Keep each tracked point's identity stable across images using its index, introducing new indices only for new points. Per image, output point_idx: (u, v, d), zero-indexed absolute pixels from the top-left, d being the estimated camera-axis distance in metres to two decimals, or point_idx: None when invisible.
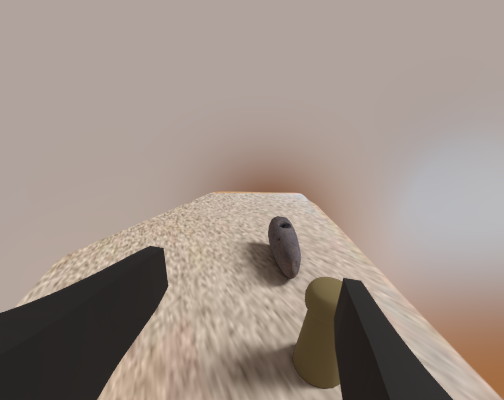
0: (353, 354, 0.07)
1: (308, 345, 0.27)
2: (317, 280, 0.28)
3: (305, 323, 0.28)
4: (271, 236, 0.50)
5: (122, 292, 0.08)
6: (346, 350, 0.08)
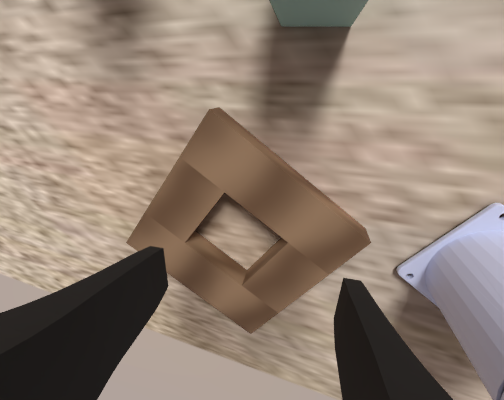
0: (353, 354, 0.07)
1: None
2: None
3: None
4: None
5: (122, 292, 0.08)
6: (346, 350, 0.08)
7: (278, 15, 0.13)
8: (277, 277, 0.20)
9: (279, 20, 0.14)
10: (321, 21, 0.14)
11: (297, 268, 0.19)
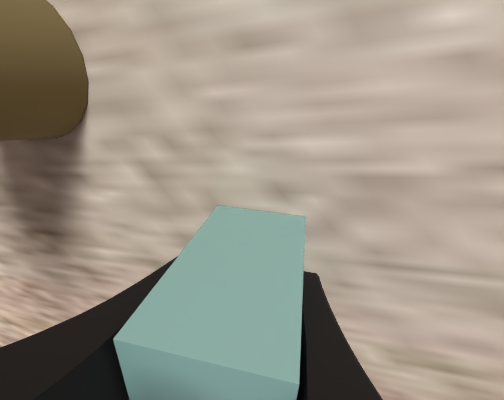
0: None
1: None
2: None
3: None
4: None
5: None
6: None
7: None
8: None
9: None
10: None
11: None
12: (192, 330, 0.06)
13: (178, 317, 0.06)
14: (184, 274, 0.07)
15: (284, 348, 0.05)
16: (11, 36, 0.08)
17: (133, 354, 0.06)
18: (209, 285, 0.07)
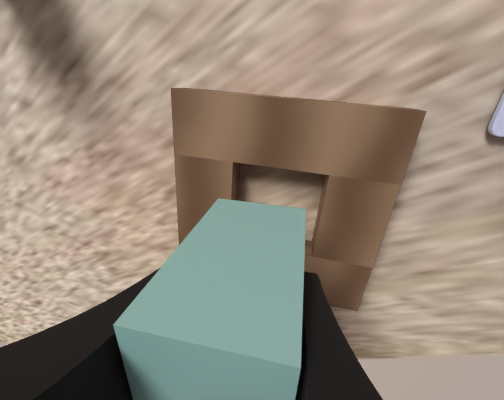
0: None
1: None
2: None
3: None
4: None
5: None
6: None
7: None
8: (344, 224, 0.16)
9: None
10: None
11: (358, 199, 0.15)
12: (193, 316, 0.06)
13: (179, 304, 0.06)
14: (184, 263, 0.07)
15: (286, 333, 0.05)
16: None
17: (133, 340, 0.06)
18: (209, 273, 0.07)
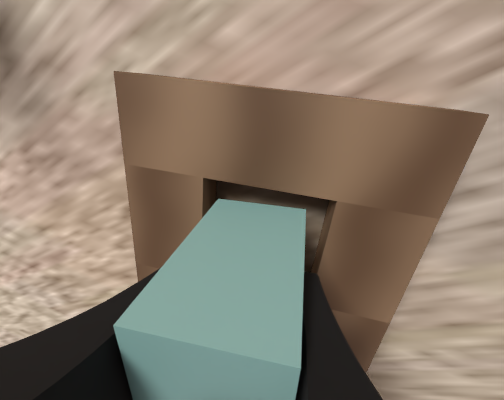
0: None
1: None
2: None
3: None
4: None
5: None
6: None
7: None
8: (354, 267, 0.12)
9: None
10: None
11: (377, 235, 0.11)
12: (193, 316, 0.06)
13: (179, 305, 0.06)
14: (184, 264, 0.07)
15: (286, 334, 0.05)
16: None
17: (133, 340, 0.06)
18: (210, 274, 0.07)
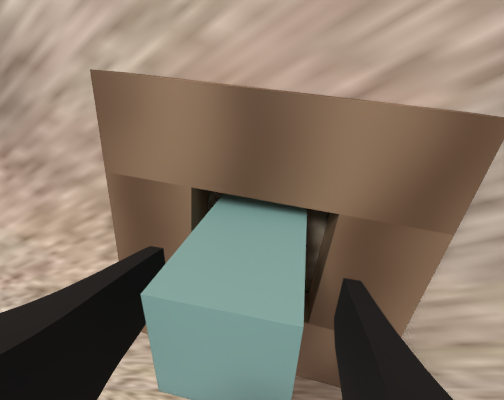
0: (353, 354, 0.07)
1: None
2: None
3: None
4: None
5: (122, 292, 0.08)
6: (346, 350, 0.08)
7: None
8: None
9: None
10: None
11: (383, 252, 0.10)
12: (209, 288, 0.07)
13: (196, 279, 0.07)
14: (198, 246, 0.08)
15: (290, 301, 0.06)
16: None
17: (158, 308, 0.06)
18: (221, 254, 0.08)
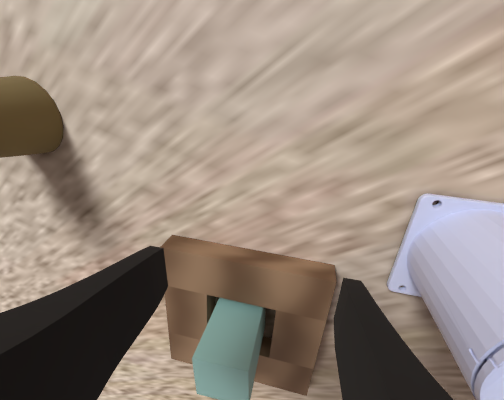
0: (353, 354, 0.07)
1: None
2: None
3: None
4: None
5: (122, 292, 0.08)
6: (346, 350, 0.08)
7: None
8: (289, 340, 0.22)
9: None
10: None
11: (298, 326, 0.21)
12: (216, 354, 0.18)
13: (211, 350, 0.18)
14: (211, 331, 0.19)
15: (245, 360, 0.17)
16: (8, 90, 0.18)
17: (198, 363, 0.18)
18: (221, 336, 0.19)
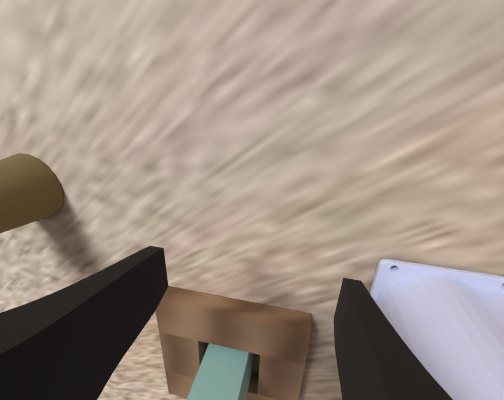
0: (353, 354, 0.07)
1: (5, 228, 0.20)
2: None
3: None
4: None
5: (122, 292, 0.08)
6: (346, 350, 0.08)
7: None
8: (274, 380, 0.24)
9: None
10: None
11: (281, 368, 0.23)
12: None
13: (201, 398, 0.20)
14: (201, 378, 0.22)
15: None
16: (14, 173, 0.20)
17: None
18: (210, 383, 0.21)
